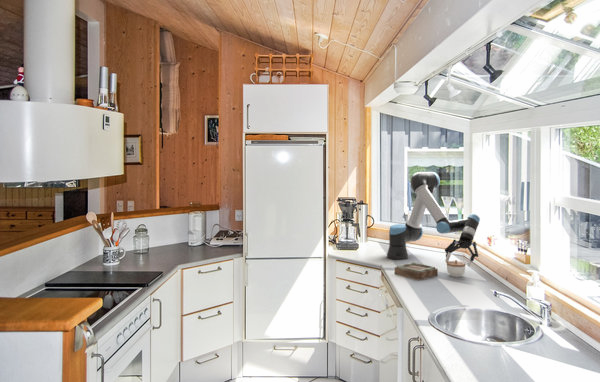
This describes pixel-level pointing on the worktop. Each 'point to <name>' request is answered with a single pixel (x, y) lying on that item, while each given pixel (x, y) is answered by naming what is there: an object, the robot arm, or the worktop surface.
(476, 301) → the worktop surface
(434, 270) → the tray
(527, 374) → the worktop surface
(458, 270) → the lidded jar
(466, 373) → the worktop surface
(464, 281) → the worktop surface
